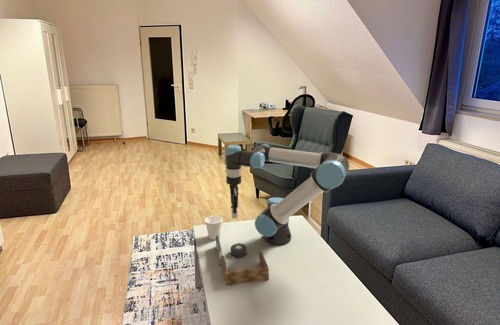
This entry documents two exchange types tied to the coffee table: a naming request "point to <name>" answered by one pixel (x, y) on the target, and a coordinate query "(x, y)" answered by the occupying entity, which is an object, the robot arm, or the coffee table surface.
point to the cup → (213, 226)
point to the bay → (246, 273)
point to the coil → (238, 250)
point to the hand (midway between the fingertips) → (234, 217)
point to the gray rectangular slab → (219, 250)
